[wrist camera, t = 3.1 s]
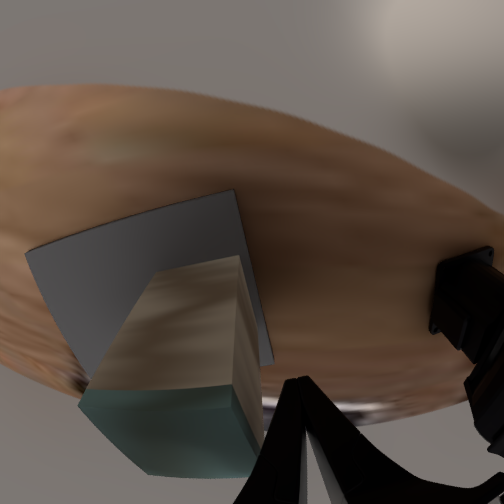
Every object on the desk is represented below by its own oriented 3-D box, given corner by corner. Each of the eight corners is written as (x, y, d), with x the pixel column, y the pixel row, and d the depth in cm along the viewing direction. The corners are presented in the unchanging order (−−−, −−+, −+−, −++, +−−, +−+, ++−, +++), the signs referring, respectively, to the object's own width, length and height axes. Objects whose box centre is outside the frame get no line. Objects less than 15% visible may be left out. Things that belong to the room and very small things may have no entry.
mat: (233, 189, 15) (233, 190, 14) (273, 358, 19) (274, 364, 18) (28, 250, 15) (24, 253, 15) (93, 374, 20) (90, 378, 19)
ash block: (239, 254, 15) (230, 407, 6) (257, 327, 17) (266, 475, 8) (156, 272, 16) (77, 405, 6) (183, 339, 17) (148, 474, 8)
